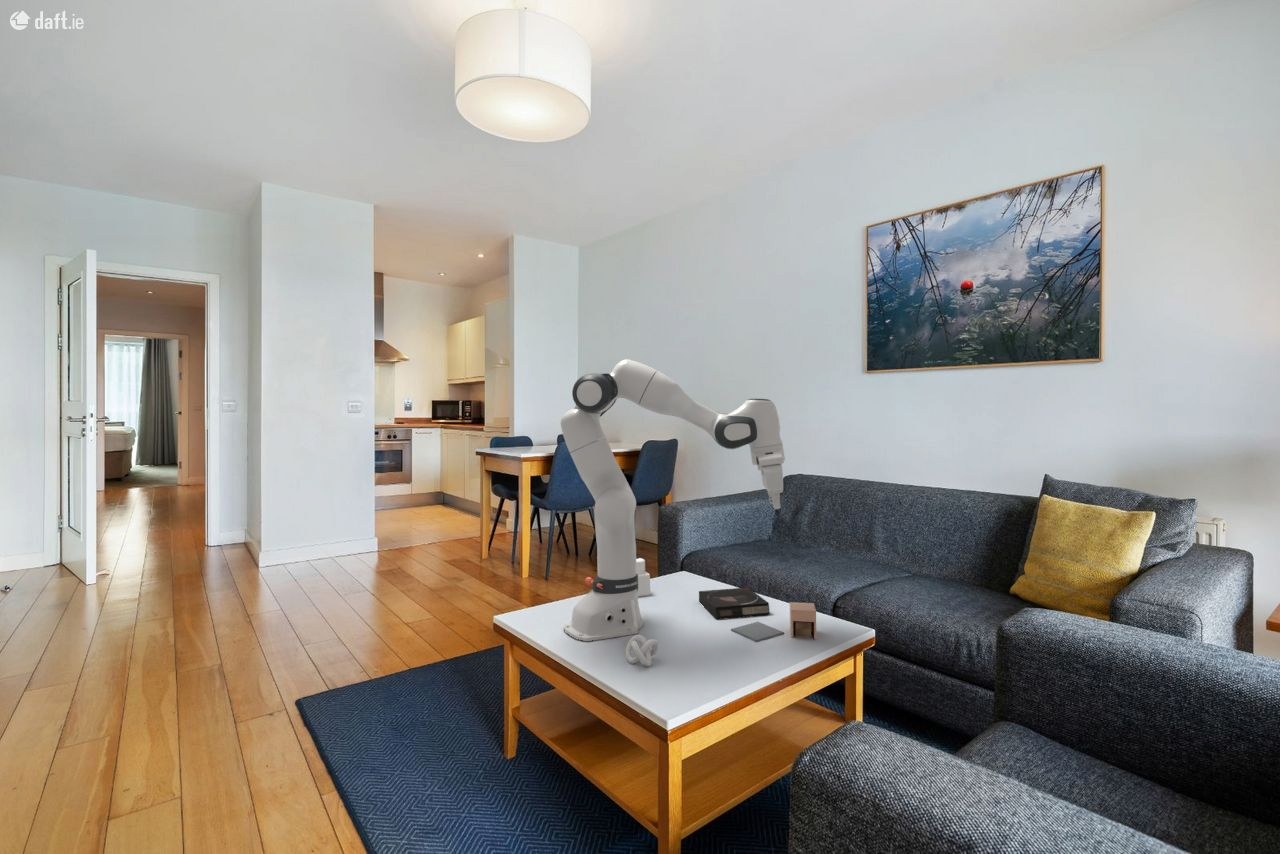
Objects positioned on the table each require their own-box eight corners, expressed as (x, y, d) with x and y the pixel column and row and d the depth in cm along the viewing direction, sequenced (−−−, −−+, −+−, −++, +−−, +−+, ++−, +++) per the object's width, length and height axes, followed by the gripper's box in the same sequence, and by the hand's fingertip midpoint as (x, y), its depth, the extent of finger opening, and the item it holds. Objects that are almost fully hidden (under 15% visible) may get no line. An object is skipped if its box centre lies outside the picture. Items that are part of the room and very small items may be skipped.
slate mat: (756, 641, 158) (756, 639, 158) (730, 630, 166) (730, 628, 166) (783, 633, 163) (783, 632, 163) (757, 623, 172) (757, 621, 172)
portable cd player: (716, 621, 175) (716, 608, 175) (699, 603, 192) (698, 591, 192) (769, 617, 178) (769, 603, 178) (748, 599, 195) (748, 587, 195)
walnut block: (795, 636, 161) (795, 622, 161) (794, 631, 165) (794, 617, 165) (811, 637, 160) (811, 622, 160) (809, 632, 164) (809, 617, 164)
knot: (649, 653, 152) (649, 630, 151) (665, 665, 144) (665, 640, 144) (622, 659, 148) (622, 635, 148) (637, 671, 141) (636, 646, 141)
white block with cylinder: (622, 592, 204) (622, 556, 204) (642, 589, 207) (641, 554, 206) (630, 598, 197) (629, 561, 197) (650, 595, 200) (650, 559, 200)
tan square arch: (791, 637, 160) (791, 609, 160) (789, 629, 167) (789, 602, 166) (816, 639, 159) (816, 610, 159) (814, 630, 165) (813, 603, 165)
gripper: (753, 455, 177) (760, 502, 177) (759, 460, 157) (767, 513, 157) (775, 452, 177) (782, 499, 177) (783, 457, 156) (791, 510, 156)
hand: (775, 506), depth 167 cm, fingers open, 8 cm apart
